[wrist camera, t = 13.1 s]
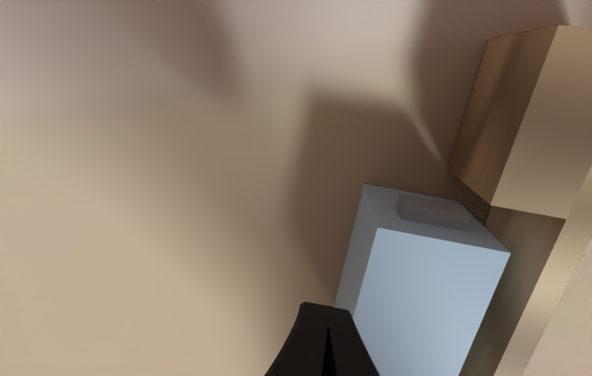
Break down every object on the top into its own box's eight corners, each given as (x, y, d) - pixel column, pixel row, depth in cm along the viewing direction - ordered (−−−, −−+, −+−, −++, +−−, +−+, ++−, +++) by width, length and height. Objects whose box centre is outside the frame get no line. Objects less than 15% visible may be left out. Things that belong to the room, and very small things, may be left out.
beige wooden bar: (421, 436, 21) (444, 529, 17) (364, 425, 21) (373, 513, 17) (576, 53, 14) (687, 46, 9) (488, 39, 14) (558, 24, 10)
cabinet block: (416, 319, 19) (446, 404, 14) (333, 303, 19) (335, 381, 14) (462, 188, 16) (517, 237, 11) (366, 170, 16) (382, 211, 11)
